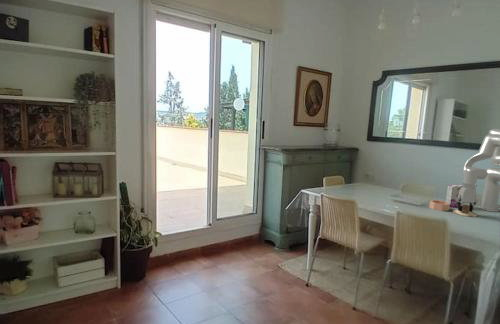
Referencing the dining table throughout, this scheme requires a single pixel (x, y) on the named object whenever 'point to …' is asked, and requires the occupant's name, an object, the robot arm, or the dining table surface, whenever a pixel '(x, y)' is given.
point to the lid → (465, 211)
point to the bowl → (439, 205)
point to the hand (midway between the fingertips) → (465, 210)
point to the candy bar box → (453, 194)
